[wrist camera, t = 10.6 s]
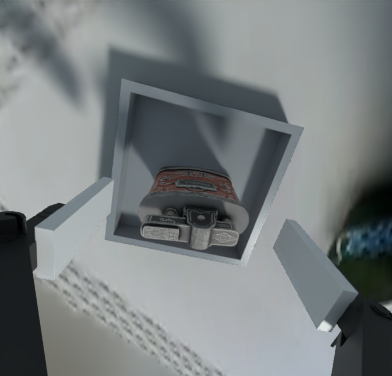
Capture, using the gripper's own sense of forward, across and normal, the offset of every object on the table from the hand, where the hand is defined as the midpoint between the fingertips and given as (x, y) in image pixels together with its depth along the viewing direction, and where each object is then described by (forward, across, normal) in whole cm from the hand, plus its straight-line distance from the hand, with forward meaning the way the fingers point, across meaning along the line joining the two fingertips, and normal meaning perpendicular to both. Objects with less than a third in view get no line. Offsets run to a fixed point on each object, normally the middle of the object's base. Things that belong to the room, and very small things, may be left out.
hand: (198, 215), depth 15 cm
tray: (+8, 0, 0) cm, 8 cm away
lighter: (+7, 0, 0) cm, 7 cm away
